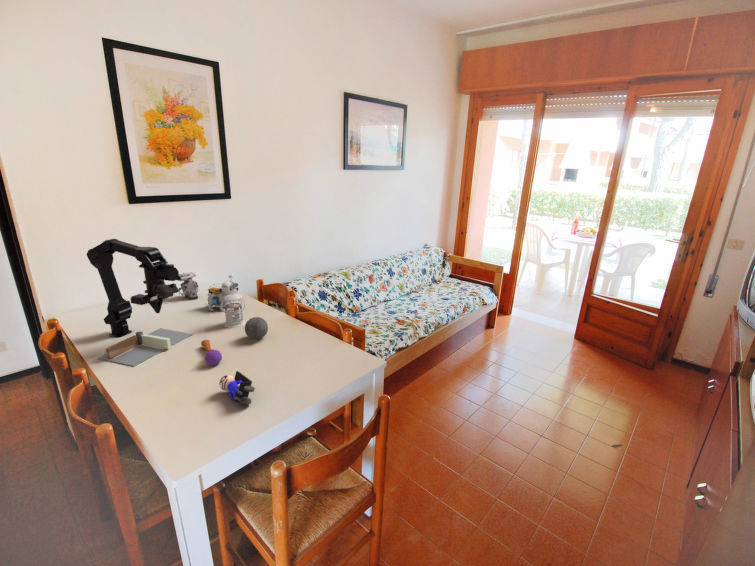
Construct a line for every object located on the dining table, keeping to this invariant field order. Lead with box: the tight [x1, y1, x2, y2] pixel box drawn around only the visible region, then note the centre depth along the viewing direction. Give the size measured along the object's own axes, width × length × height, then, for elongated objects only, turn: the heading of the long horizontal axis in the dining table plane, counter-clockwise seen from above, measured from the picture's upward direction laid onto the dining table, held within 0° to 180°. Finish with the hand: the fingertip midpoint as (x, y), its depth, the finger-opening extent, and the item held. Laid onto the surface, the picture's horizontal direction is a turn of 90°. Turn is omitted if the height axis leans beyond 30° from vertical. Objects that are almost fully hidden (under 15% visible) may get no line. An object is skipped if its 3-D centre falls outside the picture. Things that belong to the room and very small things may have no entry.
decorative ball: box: [244, 316, 269, 340], centre depth 165 cm, size 10×10×10 cm
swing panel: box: [141, 333, 172, 350], centre depth 154 cm, size 2×13×4 cm, turn 75°
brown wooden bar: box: [105, 331, 144, 359], centre depth 150 cm, size 3×16×5 cm, turn 164°
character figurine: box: [218, 370, 256, 405], centre depth 123 cm, size 8×7×15 cm
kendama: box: [200, 339, 223, 366], centre depth 149 cm, size 6×6×20 cm
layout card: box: [97, 328, 193, 368], centre depth 156 cm, size 18×30×1 cm, turn 164°
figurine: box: [175, 271, 199, 301], centre depth 210 cm, size 9×12×15 cm
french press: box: [224, 274, 247, 329], centre depth 178 cm, size 10×12×25 cm
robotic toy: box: [205, 280, 239, 312], centre depth 198 cm, size 13×17×15 cm
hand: (158, 313), depth 158 cm, fingers closed
